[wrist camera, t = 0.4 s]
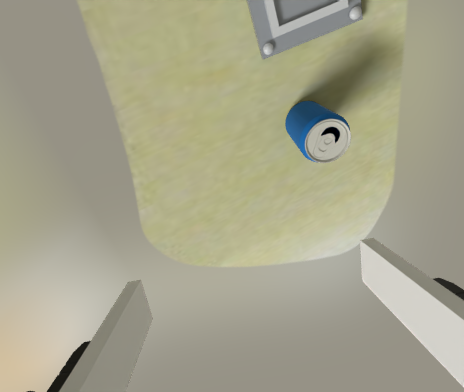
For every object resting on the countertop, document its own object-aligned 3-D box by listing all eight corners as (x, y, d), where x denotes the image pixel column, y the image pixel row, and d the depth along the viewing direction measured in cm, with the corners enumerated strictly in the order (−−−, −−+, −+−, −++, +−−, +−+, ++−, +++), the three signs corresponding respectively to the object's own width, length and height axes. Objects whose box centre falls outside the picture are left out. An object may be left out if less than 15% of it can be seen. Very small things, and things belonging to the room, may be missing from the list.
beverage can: (331, 110, 40) (365, 129, 30) (309, 145, 43) (333, 173, 33) (298, 92, 39) (321, 105, 29) (277, 129, 42) (291, 153, 32)
